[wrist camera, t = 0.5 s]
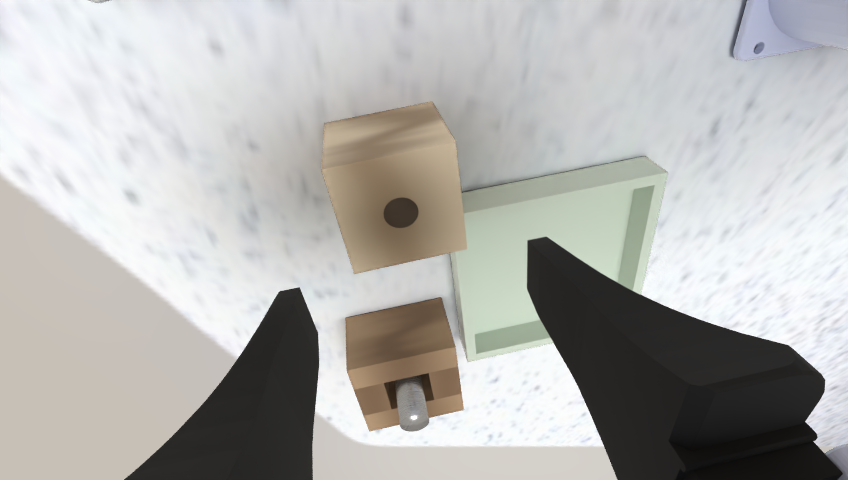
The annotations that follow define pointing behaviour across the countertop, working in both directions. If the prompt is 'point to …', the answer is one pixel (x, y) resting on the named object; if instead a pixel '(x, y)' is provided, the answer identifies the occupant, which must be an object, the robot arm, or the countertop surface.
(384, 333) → the slotted wooden block
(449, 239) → the block
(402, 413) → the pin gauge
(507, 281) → the tray
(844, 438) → the countertop surface
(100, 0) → the medicine box
